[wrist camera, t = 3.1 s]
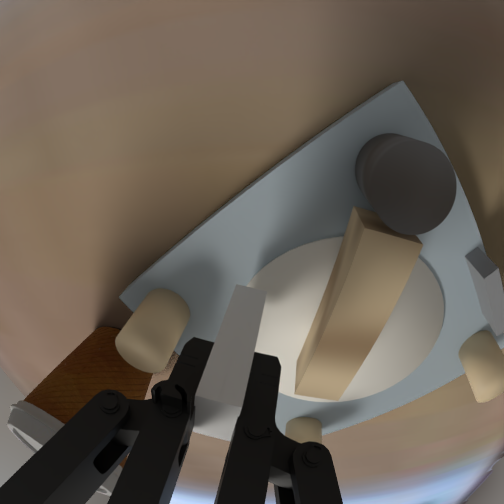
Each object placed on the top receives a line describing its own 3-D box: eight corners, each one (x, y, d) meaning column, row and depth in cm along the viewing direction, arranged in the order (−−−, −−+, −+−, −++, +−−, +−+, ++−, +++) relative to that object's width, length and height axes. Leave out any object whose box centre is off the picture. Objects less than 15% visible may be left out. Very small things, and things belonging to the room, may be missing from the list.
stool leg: (365, 123, 11) (386, 127, 8) (433, 147, 11) (467, 160, 8) (290, 357, 17) (286, 398, 15) (341, 366, 17) (344, 407, 14)
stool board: (128, 285, 19) (86, 336, 14) (393, 83, 11) (441, 71, 7) (296, 429, 24) (291, 479, 20) (498, 334, 17) (525, 383, 12)
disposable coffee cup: (137, 304, 20) (45, 440, 9) (190, 390, 24) (145, 510, 13) (61, 314, 22) (-16, 406, 12) (113, 386, 26) (63, 476, 16)
